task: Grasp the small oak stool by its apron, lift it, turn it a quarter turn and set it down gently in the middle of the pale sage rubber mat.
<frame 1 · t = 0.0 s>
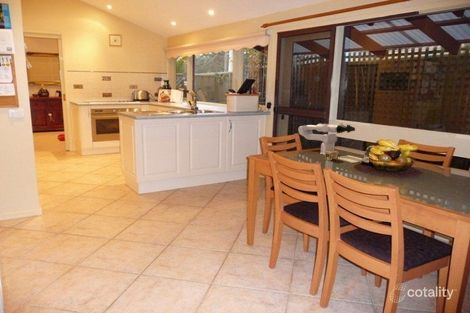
hand: (350, 129, 243), 22 cm above the table, tool horizontal, fingers open, 7 cm apart
stone: (371, 164, 236), on the table
stool: (331, 160, 246), on the table
mat: (350, 159, 249), on the table
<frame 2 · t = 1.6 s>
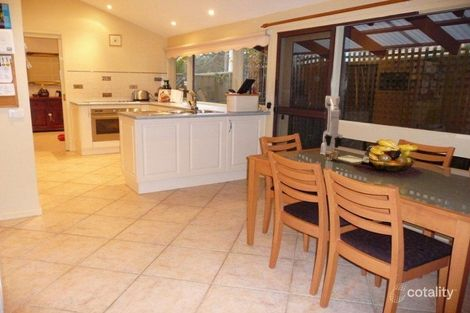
hand: (332, 146, 244), 9 cm above the table, tool pointing down, fingers open, 7 cm apart
nothing on the table moved.
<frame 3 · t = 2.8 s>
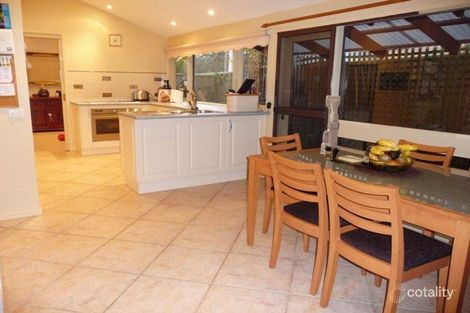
hand: (331, 157, 245), 2 cm above the table, tool pointing down, fingers closed on stool, 5 cm apart
stool: (331, 160, 246), on the table, touching gripper
everything else where it was.
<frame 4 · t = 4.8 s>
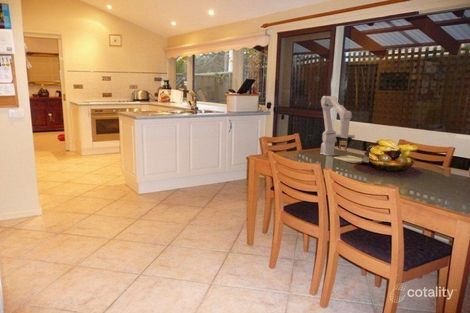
hand: (342, 147, 246), 9 cm above the table, tool pointing down, fingers closed on stool, 5 cm apart
stool: (342, 150, 246), point 7 cm above the table, touching gripper
everything else where it was.
when the fingers open (3 cm above the table, at t = 6.8 s): stool stays where it is, resting on mat.
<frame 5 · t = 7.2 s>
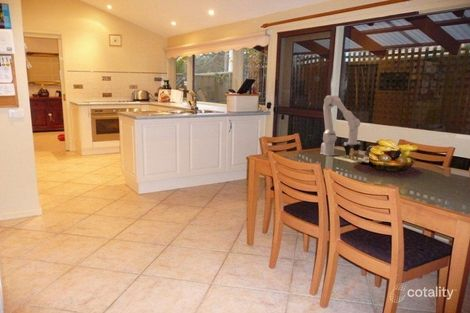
hand: (351, 155, 249), 3 cm above the table, tool pointing down, fingers open, 7 cm apart
stool: (351, 158, 249), point 1 cm above the table, touching mat
everything else where it was.
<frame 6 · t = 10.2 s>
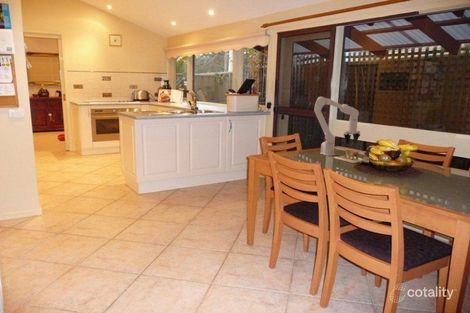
hand: (351, 143, 260), 9 cm above the table, tool pointing down, fingers open, 7 cm apart
nothing on the table moved.
at the end: stool inside the target area on the mat (0.3 cm from its centre), point 0.6 cm above the mat's base; stool tilted 0°; the gripper is holding nothing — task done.
